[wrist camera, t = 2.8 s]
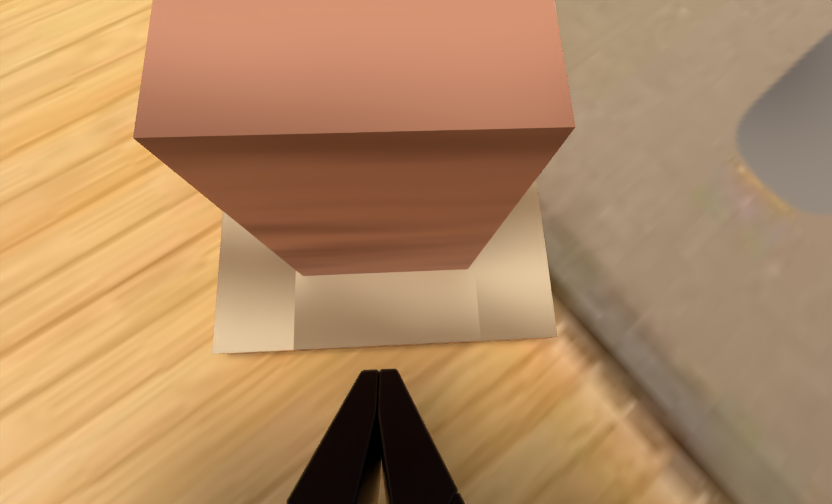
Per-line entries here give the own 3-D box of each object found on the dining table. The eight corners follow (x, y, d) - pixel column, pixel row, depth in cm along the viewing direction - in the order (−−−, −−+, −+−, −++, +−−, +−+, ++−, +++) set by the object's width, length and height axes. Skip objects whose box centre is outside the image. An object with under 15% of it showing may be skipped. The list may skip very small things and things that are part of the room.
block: (467, 269, 17) (575, 127, 7) (302, 275, 17) (133, 137, 6) (454, 106, 19) (519, -206, 9) (306, 109, 19) (183, -211, 8)
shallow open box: (571, 337, 18) (609, 332, 15) (199, 355, 17) (150, 355, 14) (510, -85, 24) (528, -156, 21) (236, -85, 24) (209, -159, 20)
